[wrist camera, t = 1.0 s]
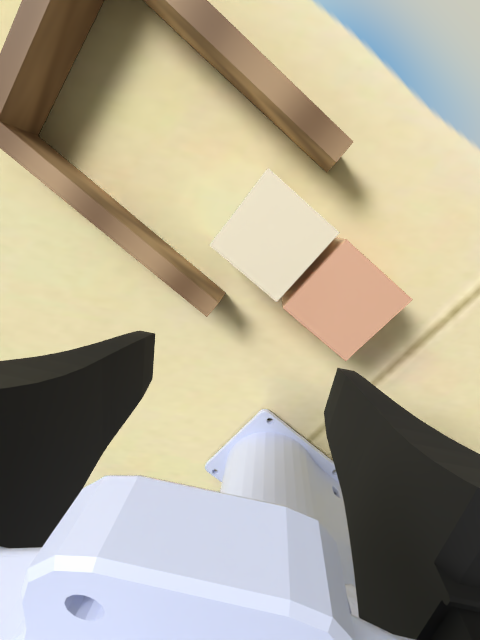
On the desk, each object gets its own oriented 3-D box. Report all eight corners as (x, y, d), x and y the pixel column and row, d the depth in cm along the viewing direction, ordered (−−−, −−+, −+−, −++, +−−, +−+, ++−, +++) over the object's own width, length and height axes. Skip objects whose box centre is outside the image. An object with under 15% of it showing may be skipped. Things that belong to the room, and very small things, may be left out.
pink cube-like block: (386, 286, 20) (412, 299, 16) (332, 337, 22) (345, 361, 18) (332, 236, 20) (346, 239, 16) (281, 293, 21) (282, 308, 17)
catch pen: (340, 155, 18) (353, 141, 15) (215, 305, 22) (206, 316, 19) (109, -65, 16) (74, -128, 13) (14, 139, 20) (-29, 124, 17)
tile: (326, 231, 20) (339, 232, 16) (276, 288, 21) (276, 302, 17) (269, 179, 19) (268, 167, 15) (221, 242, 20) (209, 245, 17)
